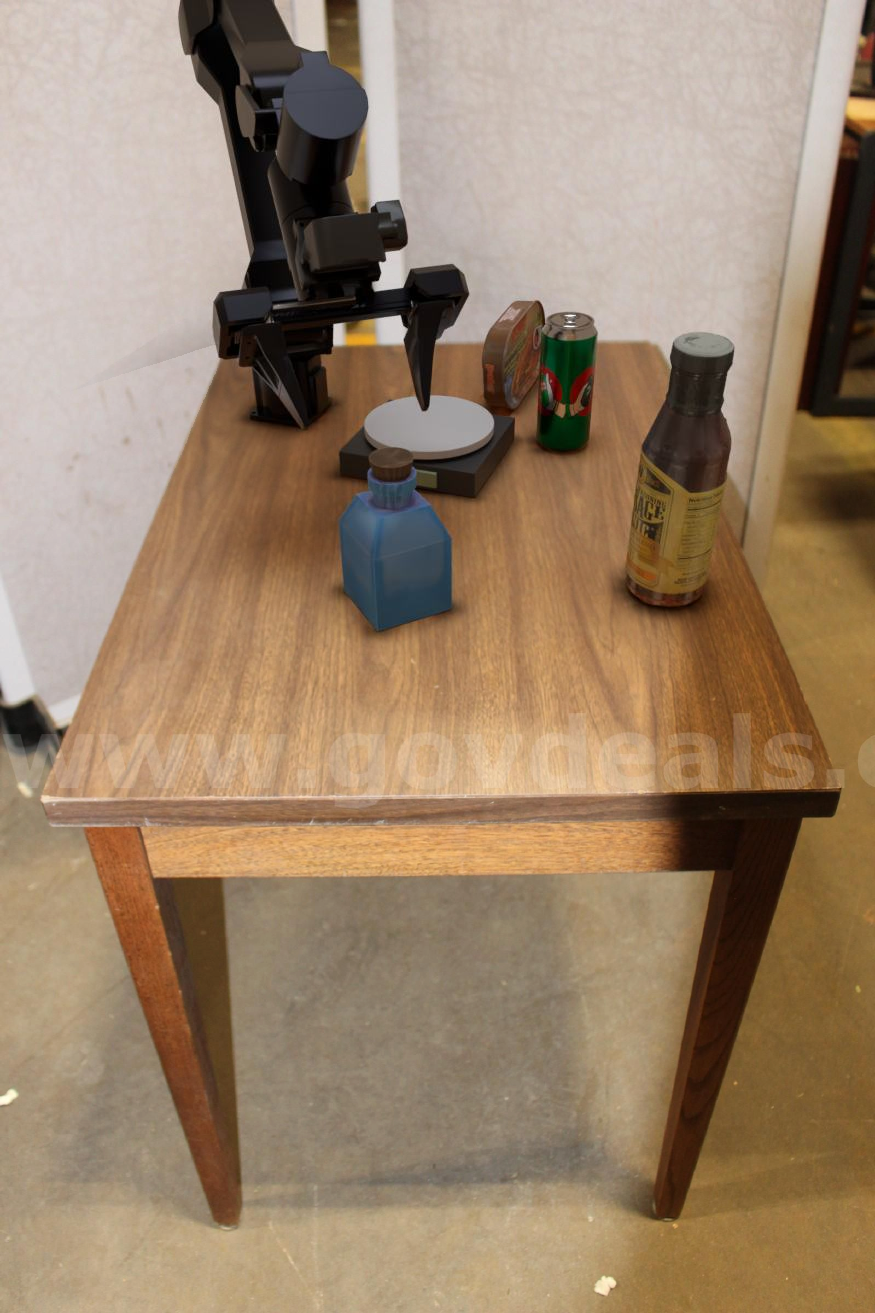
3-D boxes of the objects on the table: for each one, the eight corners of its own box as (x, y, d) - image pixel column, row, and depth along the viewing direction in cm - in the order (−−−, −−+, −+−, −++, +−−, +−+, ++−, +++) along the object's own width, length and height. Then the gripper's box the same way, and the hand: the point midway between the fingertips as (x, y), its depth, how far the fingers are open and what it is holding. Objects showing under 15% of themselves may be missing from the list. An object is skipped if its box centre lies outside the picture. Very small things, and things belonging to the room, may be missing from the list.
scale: (338, 476, 97) (335, 440, 95) (390, 421, 107) (388, 387, 104) (473, 499, 94) (473, 462, 92) (514, 440, 103) (515, 405, 101)
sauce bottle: (615, 569, 85) (642, 323, 72) (692, 565, 85) (732, 319, 73) (634, 617, 79) (666, 360, 67) (716, 612, 80) (763, 356, 68)
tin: (506, 422, 106) (508, 340, 101) (476, 418, 107) (476, 336, 102) (547, 366, 117) (551, 289, 112) (519, 363, 118) (522, 286, 113)
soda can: (588, 431, 104) (598, 310, 97) (589, 455, 100) (599, 330, 93) (536, 430, 105) (542, 308, 97) (535, 453, 101) (541, 329, 93)
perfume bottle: (377, 631, 78) (369, 486, 71) (343, 590, 83) (332, 449, 75) (452, 608, 80) (451, 465, 73) (415, 569, 85) (411, 430, 78)
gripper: (195, 171, 70) (247, 393, 69) (460, 146, 75) (515, 354, 73) (194, 259, 81) (239, 453, 79) (427, 232, 86) (474, 415, 84)
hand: (366, 418), depth 79 cm, fingers open, 9 cm apart
